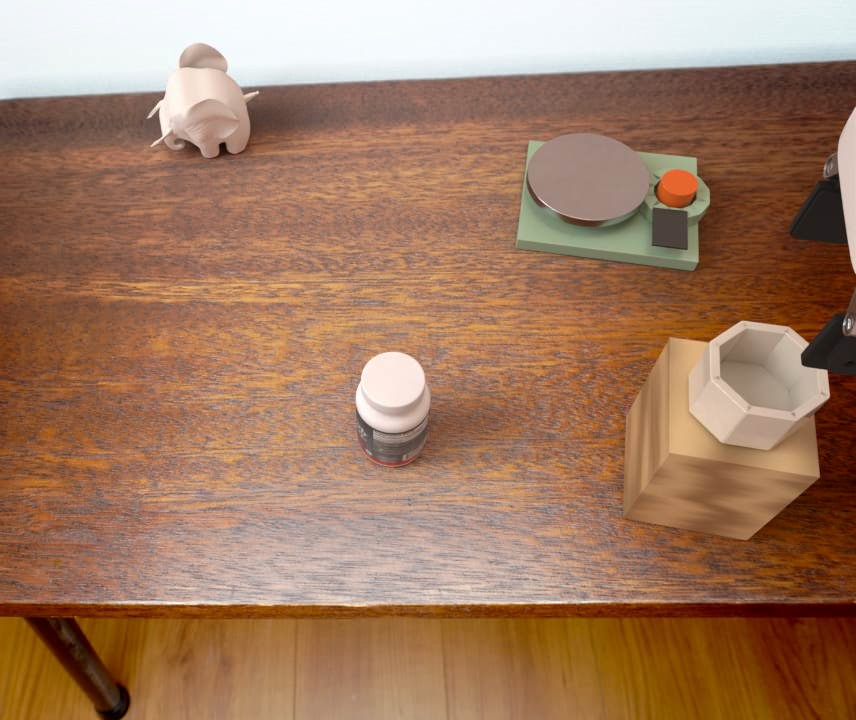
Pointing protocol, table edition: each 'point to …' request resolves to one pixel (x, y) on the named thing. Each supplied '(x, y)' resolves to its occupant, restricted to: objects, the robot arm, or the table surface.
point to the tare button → (677, 188)
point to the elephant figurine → (203, 104)
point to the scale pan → (598, 186)
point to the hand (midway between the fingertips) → (825, 297)
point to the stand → (704, 460)
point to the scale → (625, 237)
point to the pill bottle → (392, 409)
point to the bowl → (755, 385)
